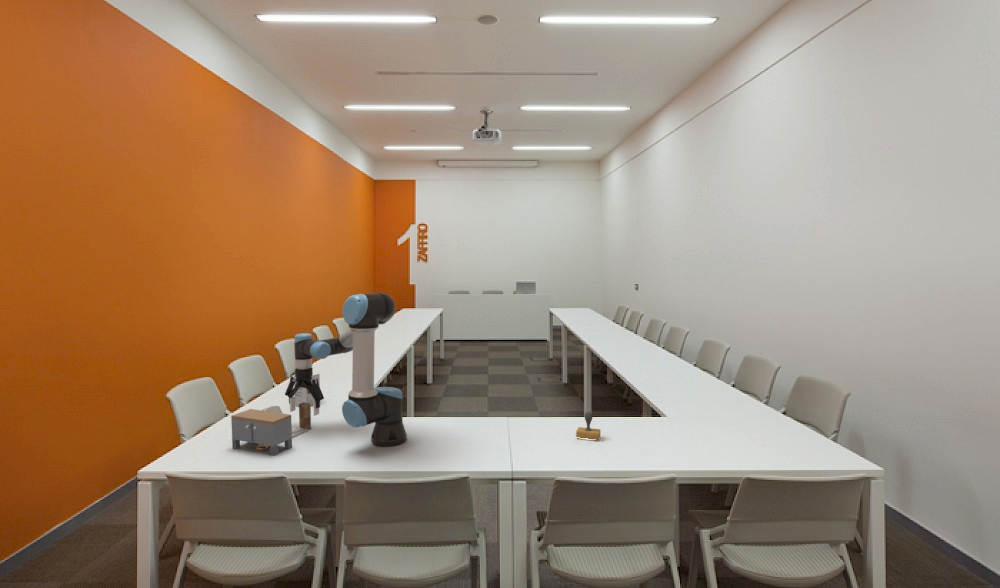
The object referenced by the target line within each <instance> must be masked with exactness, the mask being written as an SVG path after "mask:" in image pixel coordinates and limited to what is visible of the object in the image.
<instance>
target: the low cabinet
mask: <svg viewBox="0 0 1000 588" xmlns="http://www.w3.org/2000/svg"><path fill="white" fill-rule="evenodd" d="M261 410H262V409H261ZM261 410H260V409H253V408H249V409H247V410H244V411H241V412H238V413H235V414H233V415H231V416H230V419H231V442H232V444H231V446H232V449H233V450H238V449H240V448H241V442H245V443H246V442H247V443H250V444H258V445H261V444H263V445H268V447H269V456H271V457H275V456H277V455H278V454H279V453H278V445H280V443H281V444H282V442H283V443H284V449H285V450H286V449H287V450H290V449H292V448H293V438H292V430H293V429H292V427H293V426H292V414H288V413H283V412H282V413H283V414H282V413H275V412H268V411H261Z"/></svg>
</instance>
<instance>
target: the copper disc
mask: <svg viewBox="0 0 1000 588" xmlns="http://www.w3.org/2000/svg"><path fill="white" fill-rule="evenodd" d="M255 447H256V450H257V451H265V450H267V448H268V449H269V446H268V445H263V444H258V445H256V446H255Z"/></svg>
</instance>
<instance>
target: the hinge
mask: <svg viewBox="0 0 1000 588" xmlns="http://www.w3.org/2000/svg"><path fill="white" fill-rule="evenodd" d="M261 411H268V412H275V413H282V414H284V413H283V411H282V409H281V406H279V405H273V406H272V405H271V406H268V407H265V408H263V409H261Z"/></svg>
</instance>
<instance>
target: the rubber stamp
mask: <svg viewBox="0 0 1000 588" xmlns="http://www.w3.org/2000/svg"><path fill="white" fill-rule="evenodd" d="M584 420H585V423H586V427H581V426H579V427H577V429H576V430H575V431H576V432H575V438H576V437H580V438H588V439H596V440H599V438H600V439H601V429H600V428H591V423H592V420H593V414H592V412H591V411H586V412H585V413H584ZM599 441H600V440H599Z"/></svg>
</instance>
